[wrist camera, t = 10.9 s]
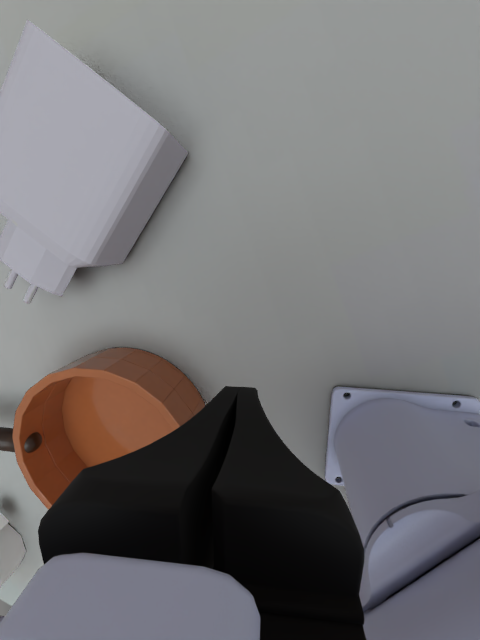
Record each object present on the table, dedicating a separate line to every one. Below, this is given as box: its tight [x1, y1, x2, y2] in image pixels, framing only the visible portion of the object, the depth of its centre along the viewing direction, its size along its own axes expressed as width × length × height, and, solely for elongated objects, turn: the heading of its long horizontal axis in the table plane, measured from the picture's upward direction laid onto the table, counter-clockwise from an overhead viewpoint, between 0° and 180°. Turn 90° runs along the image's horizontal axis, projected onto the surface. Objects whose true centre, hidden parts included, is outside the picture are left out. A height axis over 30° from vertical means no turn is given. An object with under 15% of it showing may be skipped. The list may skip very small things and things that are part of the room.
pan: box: [12, 348, 205, 509], centre depth 22 cm, size 14×14×4 cm
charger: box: [0, 19, 188, 303], centre depth 18 cm, size 5×9×15 cm
